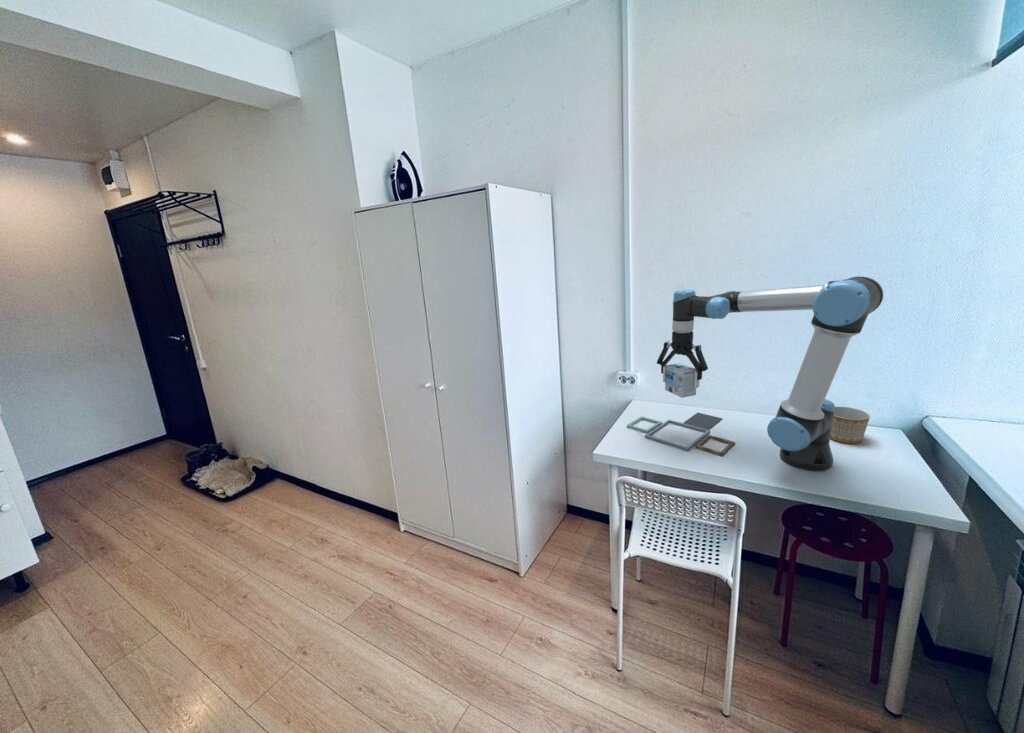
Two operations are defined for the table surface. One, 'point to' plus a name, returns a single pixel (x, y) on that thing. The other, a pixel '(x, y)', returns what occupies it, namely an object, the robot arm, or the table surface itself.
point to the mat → (703, 421)
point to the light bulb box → (680, 380)
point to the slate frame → (649, 436)
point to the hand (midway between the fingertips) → (680, 384)
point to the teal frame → (657, 423)
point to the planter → (849, 425)
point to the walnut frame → (723, 452)
